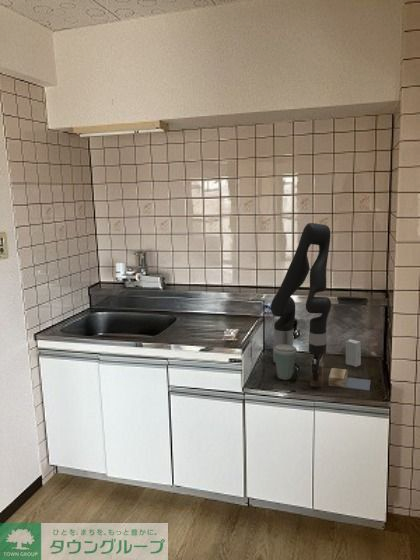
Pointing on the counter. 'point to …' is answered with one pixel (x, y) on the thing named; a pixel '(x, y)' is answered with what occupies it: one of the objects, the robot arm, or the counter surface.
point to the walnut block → (320, 376)
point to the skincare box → (353, 352)
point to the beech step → (338, 377)
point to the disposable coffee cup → (285, 360)
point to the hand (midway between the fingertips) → (317, 376)
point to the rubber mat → (358, 384)
